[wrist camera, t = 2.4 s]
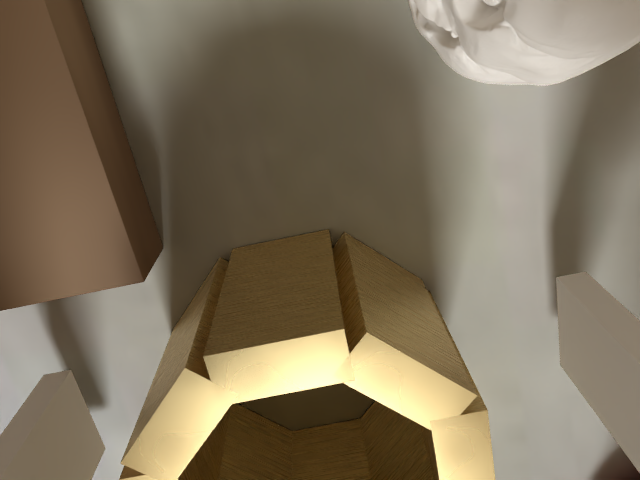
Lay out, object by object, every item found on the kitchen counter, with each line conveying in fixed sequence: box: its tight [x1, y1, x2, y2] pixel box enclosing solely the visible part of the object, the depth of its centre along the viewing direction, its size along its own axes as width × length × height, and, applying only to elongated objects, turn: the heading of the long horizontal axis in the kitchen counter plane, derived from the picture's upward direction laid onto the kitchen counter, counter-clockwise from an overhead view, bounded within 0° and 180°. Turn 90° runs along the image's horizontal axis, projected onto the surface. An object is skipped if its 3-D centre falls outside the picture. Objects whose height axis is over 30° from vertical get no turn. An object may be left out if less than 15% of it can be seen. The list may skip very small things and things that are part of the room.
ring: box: [119, 229, 495, 480], centre depth 14 cm, size 7×7×5 cm
